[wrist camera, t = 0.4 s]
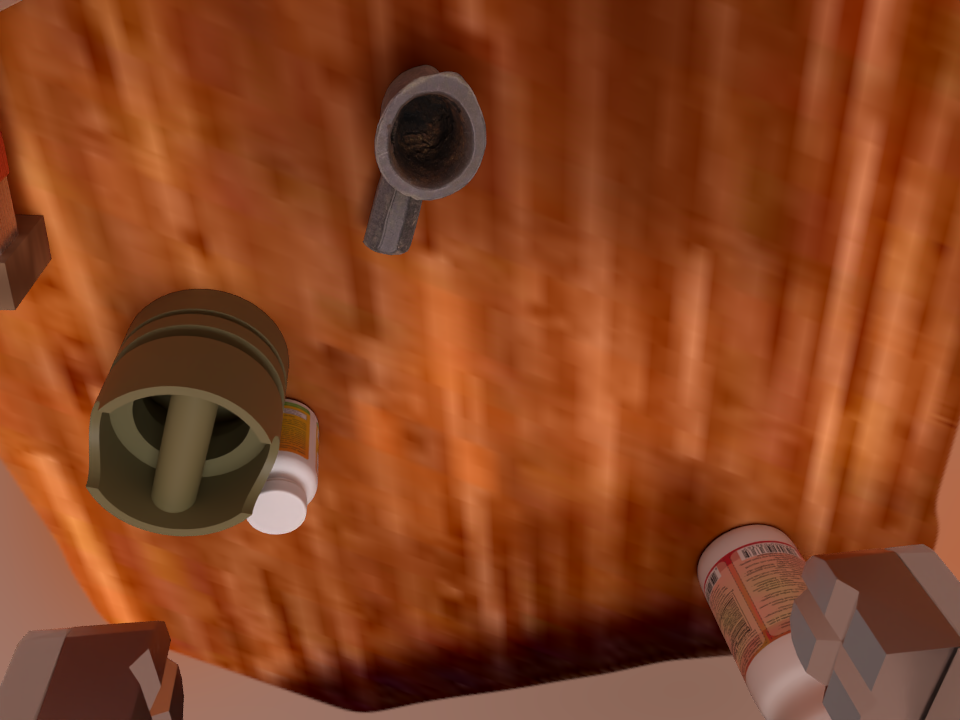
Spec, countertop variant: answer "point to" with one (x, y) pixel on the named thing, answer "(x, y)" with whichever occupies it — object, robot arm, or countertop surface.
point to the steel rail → (6, 204)
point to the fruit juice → (761, 617)
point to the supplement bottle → (290, 473)
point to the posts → (23, 260)
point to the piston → (189, 415)
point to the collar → (7, 3)
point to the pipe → (422, 151)
